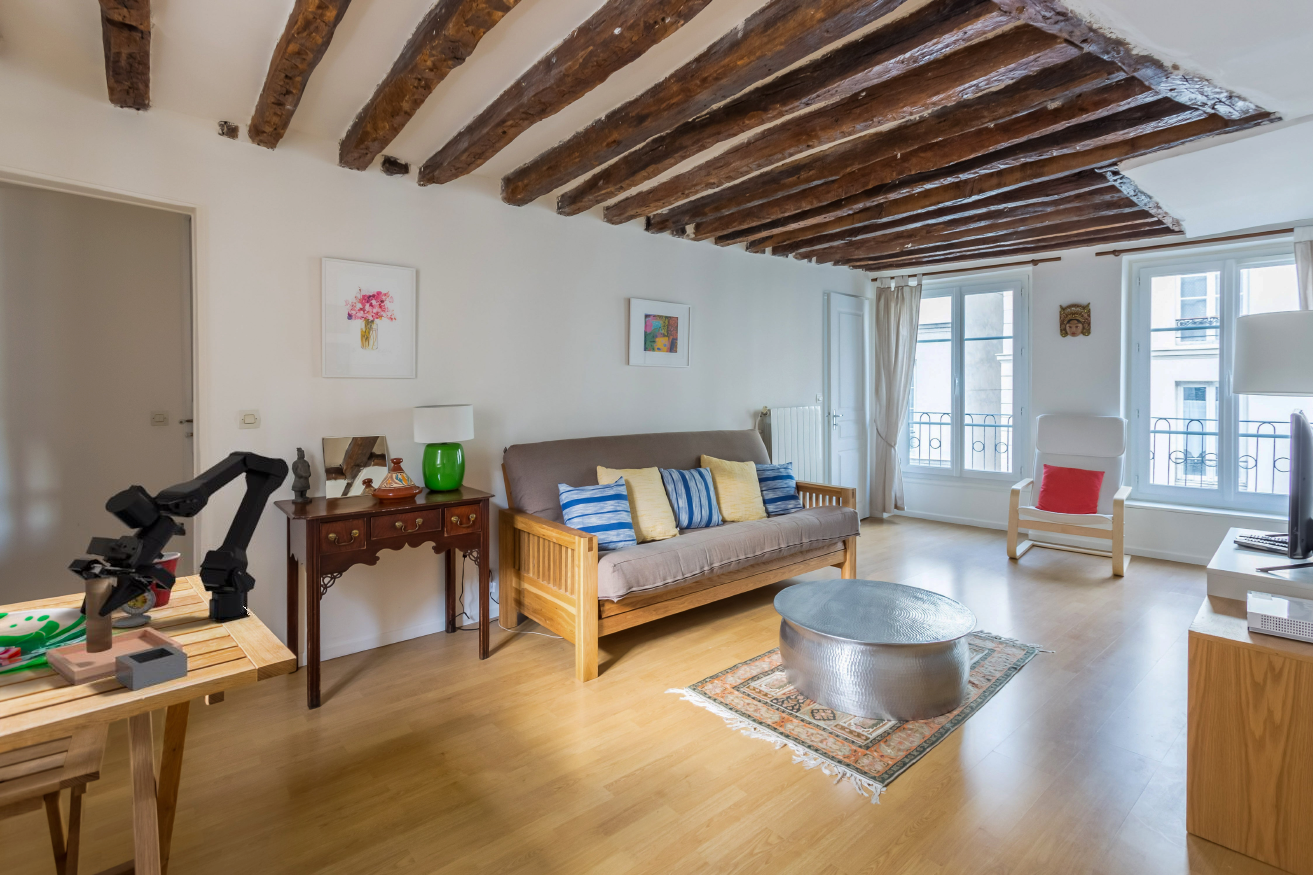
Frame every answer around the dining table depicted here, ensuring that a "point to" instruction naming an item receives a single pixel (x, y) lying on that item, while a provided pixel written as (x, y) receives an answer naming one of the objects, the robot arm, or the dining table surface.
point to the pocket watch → (136, 611)
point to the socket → (150, 666)
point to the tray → (103, 655)
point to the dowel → (95, 624)
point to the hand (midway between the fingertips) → (91, 614)
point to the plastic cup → (161, 595)
